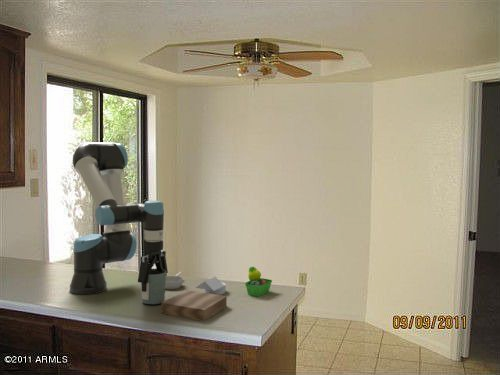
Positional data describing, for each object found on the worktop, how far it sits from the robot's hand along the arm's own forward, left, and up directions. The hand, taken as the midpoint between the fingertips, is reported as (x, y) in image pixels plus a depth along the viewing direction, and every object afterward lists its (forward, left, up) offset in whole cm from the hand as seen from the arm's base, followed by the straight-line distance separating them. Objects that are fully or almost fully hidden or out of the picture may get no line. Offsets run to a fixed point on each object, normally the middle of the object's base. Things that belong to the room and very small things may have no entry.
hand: (153, 295), depth 187 cm
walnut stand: (+19, 0, -3) cm, 19 cm away
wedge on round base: (+15, +22, -3) cm, 27 cm away
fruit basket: (+32, +31, -3) cm, 45 cm away
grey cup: (0, 0, -2) cm, 2 cm away
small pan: (-7, +26, -3) cm, 27 cm away
